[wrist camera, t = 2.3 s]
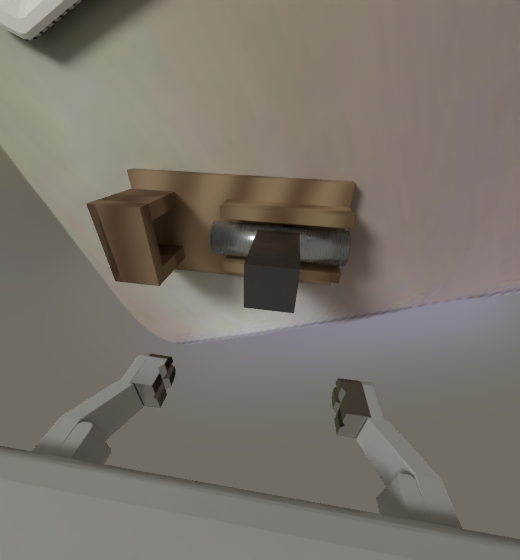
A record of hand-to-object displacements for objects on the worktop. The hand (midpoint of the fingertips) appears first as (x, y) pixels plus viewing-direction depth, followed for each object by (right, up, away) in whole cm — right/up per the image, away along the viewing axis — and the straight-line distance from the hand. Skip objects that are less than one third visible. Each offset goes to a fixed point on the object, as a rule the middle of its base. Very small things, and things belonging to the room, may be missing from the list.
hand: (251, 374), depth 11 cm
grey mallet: (+3, +10, +15) cm, 18 cm away
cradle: (-2, +11, +16) cm, 20 cm away
